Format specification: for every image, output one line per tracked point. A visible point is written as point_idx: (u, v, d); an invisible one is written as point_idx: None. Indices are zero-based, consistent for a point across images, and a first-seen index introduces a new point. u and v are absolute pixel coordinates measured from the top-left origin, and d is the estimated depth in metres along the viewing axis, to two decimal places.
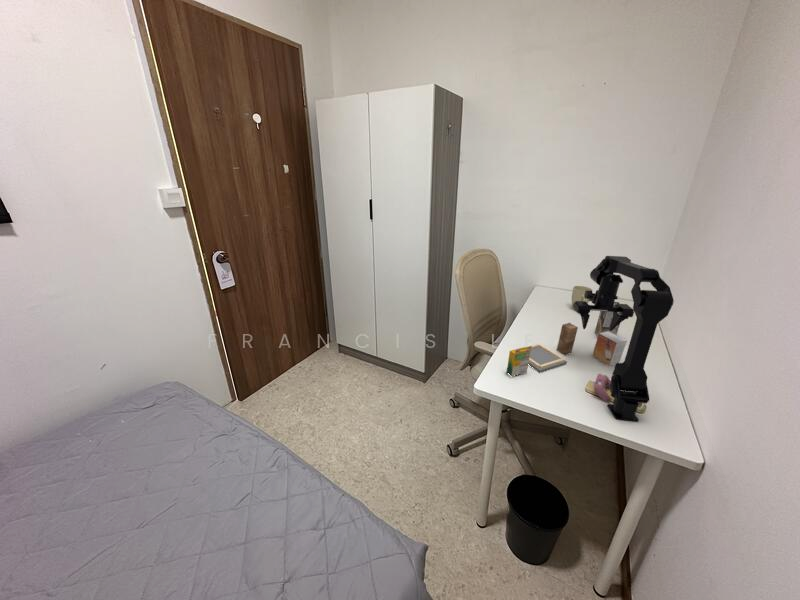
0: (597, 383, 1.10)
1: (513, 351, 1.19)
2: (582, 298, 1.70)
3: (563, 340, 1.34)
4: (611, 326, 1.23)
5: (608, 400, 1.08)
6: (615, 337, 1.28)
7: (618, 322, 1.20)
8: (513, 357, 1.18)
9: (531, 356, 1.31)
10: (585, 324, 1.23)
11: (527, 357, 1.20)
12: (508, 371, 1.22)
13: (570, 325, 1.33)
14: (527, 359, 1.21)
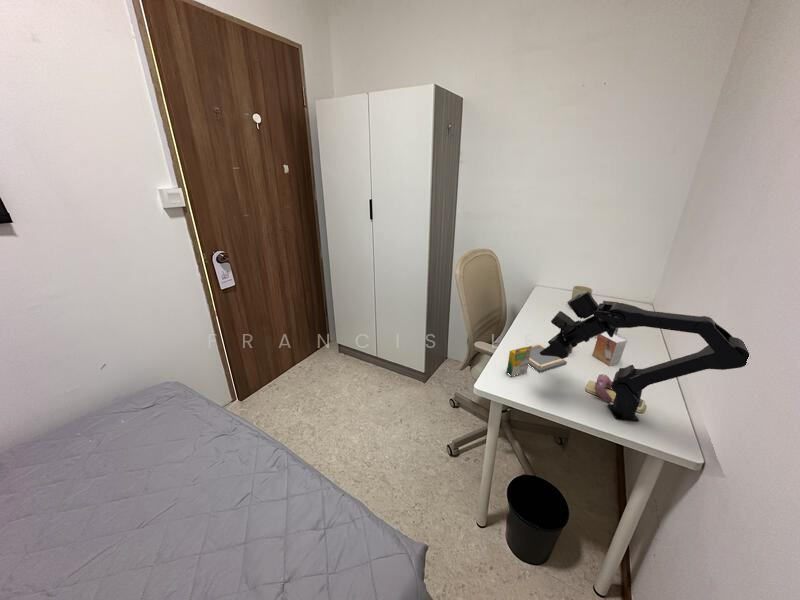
0: (598, 383, 1.10)
1: (513, 351, 1.19)
2: None
3: None
4: None
5: (609, 400, 1.08)
6: (615, 337, 1.28)
7: None
8: (513, 357, 1.18)
9: (531, 356, 1.31)
10: None
11: (527, 357, 1.20)
12: (508, 371, 1.22)
13: None
14: (527, 359, 1.21)
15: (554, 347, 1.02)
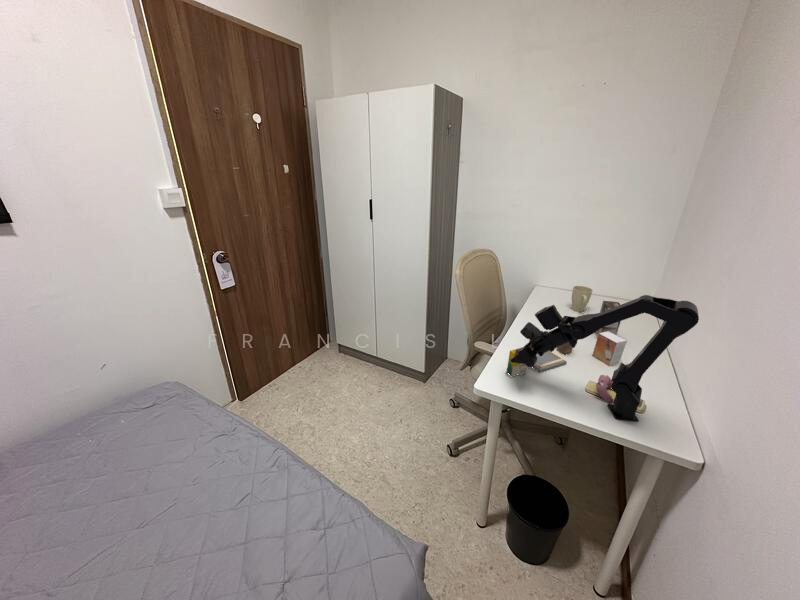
0: (599, 384, 1.10)
1: (513, 351, 1.19)
2: (582, 298, 1.70)
3: None
4: None
5: (611, 401, 1.08)
6: (615, 337, 1.28)
7: None
8: (513, 357, 1.18)
9: None
10: None
11: None
12: (508, 371, 1.22)
13: None
14: None
15: (521, 356, 1.09)
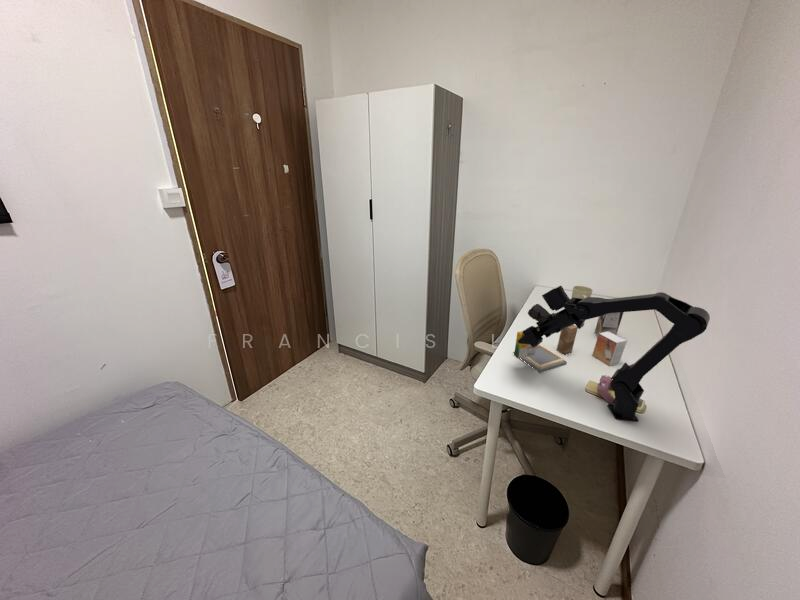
0: (601, 384, 1.10)
1: (520, 332, 1.20)
2: (582, 298, 1.70)
3: (563, 340, 1.34)
4: None
5: (612, 401, 1.08)
6: (615, 337, 1.28)
7: None
8: None
9: (531, 356, 1.31)
10: None
11: None
12: (515, 352, 1.23)
13: None
14: None
15: (526, 336, 1.11)
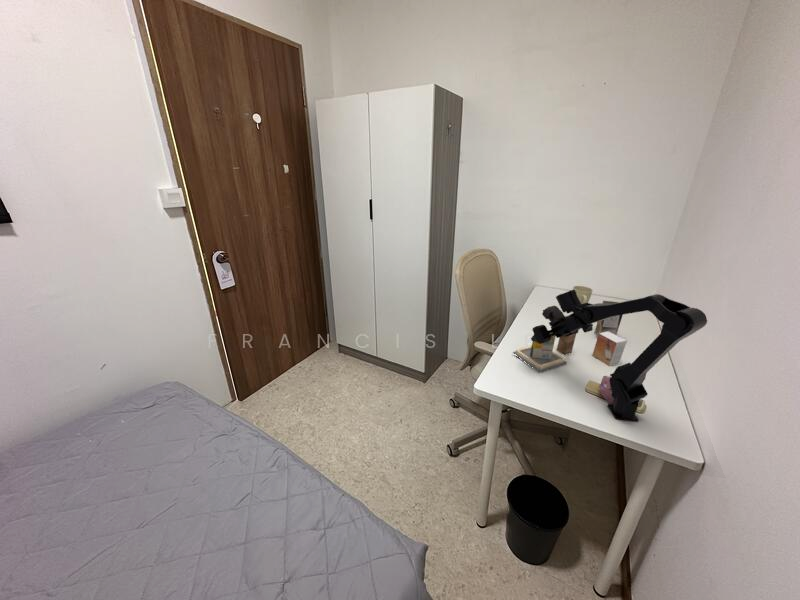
0: (603, 385, 1.09)
1: None
2: (582, 298, 1.70)
3: (563, 340, 1.34)
4: None
5: None
6: (615, 337, 1.28)
7: None
8: None
9: None
10: None
11: (551, 343, 1.27)
12: (531, 352, 1.31)
13: None
14: (551, 345, 1.27)
15: (534, 332, 1.19)
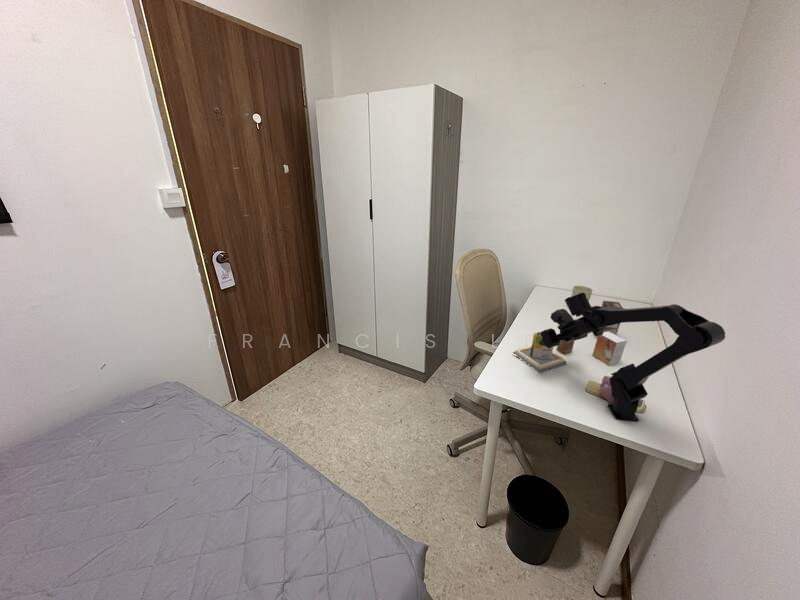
0: (603, 385, 1.09)
1: (536, 334, 1.28)
2: None
3: (563, 340, 1.34)
4: None
5: None
6: (615, 337, 1.28)
7: None
8: (534, 339, 1.28)
9: None
10: None
11: None
12: (531, 352, 1.31)
13: None
14: None
15: (543, 336, 1.16)
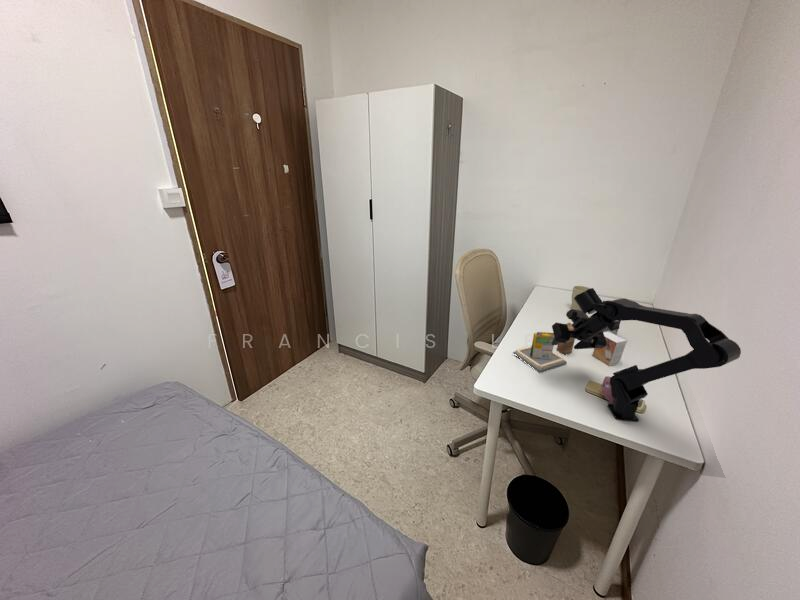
0: (604, 386, 1.09)
1: (536, 334, 1.28)
2: None
3: None
4: (578, 346, 1.20)
5: None
6: (615, 337, 1.28)
7: (586, 348, 1.17)
8: (534, 339, 1.28)
9: None
10: (556, 344, 1.17)
11: (551, 343, 1.27)
12: (531, 352, 1.31)
13: (570, 325, 1.33)
14: (551, 345, 1.27)
15: (553, 328, 1.13)
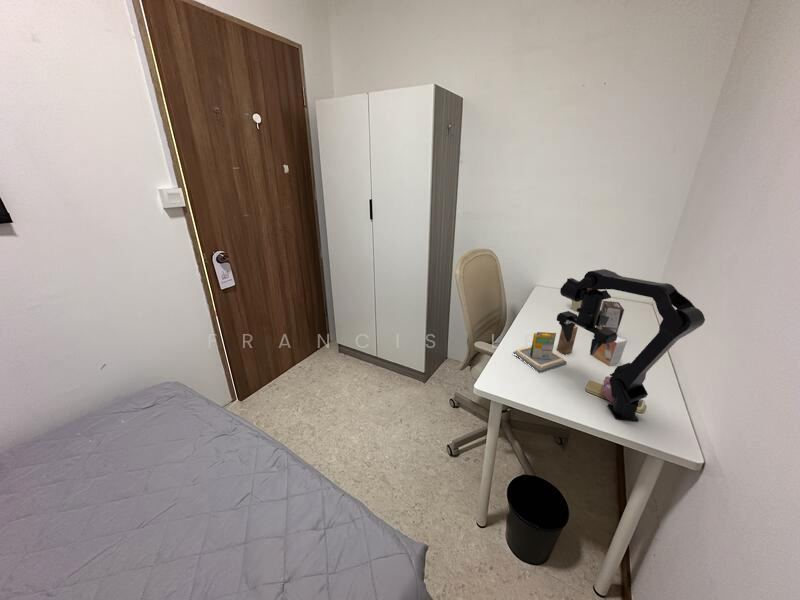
0: (605, 386, 1.09)
1: (536, 334, 1.28)
2: None
3: (563, 340, 1.34)
4: None
5: None
6: None
7: (592, 345, 1.08)
8: (534, 339, 1.28)
9: None
10: (565, 336, 1.18)
11: (551, 343, 1.27)
12: (531, 352, 1.31)
13: None
14: (551, 345, 1.27)
15: None
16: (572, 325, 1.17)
